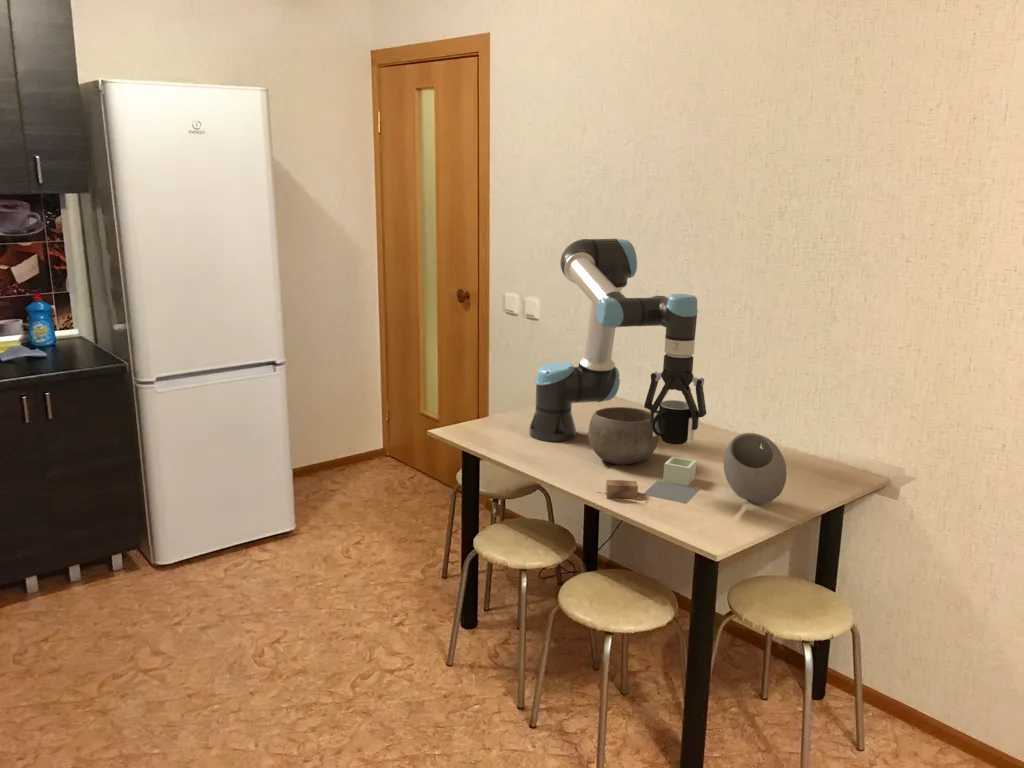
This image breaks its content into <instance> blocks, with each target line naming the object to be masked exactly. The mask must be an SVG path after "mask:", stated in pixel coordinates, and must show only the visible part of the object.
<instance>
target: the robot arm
mask: <svg viewBox="0 0 1024 768" xmlns="http://www.w3.org/2000/svg"><path fill="white" fill-rule="evenodd" d="M637 257H638V256H637V253H636V250H635V246H634V245H633V243H631V242H630V240H628V239H620V238H619V239H618V238H592V239H591V238H583V239H577V240H576V241H572V242H571V243H570V244H569V245H568V246H566V248H565V249H564V250H563V253H562V254H561V257H560V264H559V265H560V269H561V272H562V273H563V275H564V277H565V278H566V279H567V280H568V281H569V282H571V283H573V284H576V286H577V287H579V289H581V291H582V292H583V293H584V295H585V296H586V297H587V298H588V299H589V300H590V301H591V304H590V312H589V319H588V326H587V335H586V341H585V351H584V355H583V356H582V357H580V358H579V361H578V366H574V365H573V363H571V362H567V361H556V362H550V363H546V364H543V365H541V366H539V368H538V369H537V372H536V379H535V384H536V385H535V387H536V388H535V411H534V414H533V417H532V419H531V422H530V425H529V435H530V437H532V438H533V439H536V440H540V441H544V442H545V441H546V442H565V441H570V440H572V439H574V438H575V437H576V435H577V434H576V433H577V431H576V430H577V428H576V425H575V422H574V418H573V414H572V406H573V405H572V404H578V403H579V404H580V403H596V402H597V403H602V402H607V401H611V400H612V399H614V398H616V395H617V394H618V391H619V388H620V385H621V384H620V383H621V379H620V372H619V369H618V368H617V367H616V363H615V361H613V359H612V356H613V348H614V342H615V341H614V340H615V335H616V334H615V333H616V328H624V327H625V328H626V327H627V328H628V327H629V328H630V327H663V328H665V337H664V353H665V354H664V355H663V365H662V366H663V367H662V368H663V370H662V372H658V371H654V372H652V373H651V374H650V384H649V389H648V391H647V395H646V399H645V401H644V407H643V408H645V410H646V409H647V410H648V411H650V412H651V417H650V422H651V423H652V422H653V419H654V417H655V416H656V415H657V414H658V413H659V405H660V403H661V402H662V401H664V399H665V398H666V396H667V394H668V392H669V391H670V390H671V391H674V390H675V391H678V392H681V393H682V395H683V397H684V399H685V400H684V401H685V402H687V405H688V407H689V410H690V412H691V415H692V417H690V418H689V427H688V440H687V441H686V443H689V444H690V443H692V442H693V441H694V434H695V431H697V429H698V427H699V419H700V418H703V417H705V416H706V415H707V406H706V399H705V393H704V383H705V379H704V377H700V378H699V377H694V374H693V370H694V369H693V368H694V356H693V355H694V354H695V343H696V341H695V340H696V331H697V322H698V321H697V320H698V319H697V318H698V312H699V310H698V298H697V297H696V296H695V295H693V294H687V293H685V294H684V293H674V294H673V293H672V294H670V295H669V296H668V297H667V296H666V295H657V294H655V295H652V296H650V297H626V296H625V295H624V294H622V290H623V289H624V288H626V287H627V285H628V280H629V279H631V278H633V277H634V276H635V275H636V273H637V271H638V258H637ZM661 379H662V380H663V383H664V384H663V387H662V388H661V391H660V392H659V394H658V395H657V397H656V399H655V401H654V398H655V395H656V392H657V388H658V383H659V381H660V380H661ZM691 383H693V385H694V387H695V394H696V402H697V405H696V402H695V399H694V396H693V393H692V390H691V389H692V388H691V387H690V384H691ZM653 401H654V402H653ZM655 428H656V431H657V432H658V433H659V418H658V419H657V421H656V425H655ZM653 436H657V435H656V434H655V433H654V432H653Z"/></svg>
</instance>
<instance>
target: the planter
mask: <svg viewBox="0 0 1024 768" xmlns="http://www.w3.org/2000/svg"><path fill="white" fill-rule="evenodd" d="M723 470H724V476H725V478H726V482H727V484H728V485H729V486H730V488H731V490H732V491H733V492H734V493H735V494H736V495H737V496H739V497H740V498H742V499H744V500H746V501H747V502H749V503H753V504H766V503H770V502H772V501H773V500H775V499H777V498H778V497H779V496H780V495H781V494H782V492H783V491H784V489H785V486H786V481H787V473H788V472H787V464H786V461H785V459H784V456H783V454H782V451H781V450H780V448H779V447H778V445H776V444H775V443H774V441H772V440H771V439H770V438H768V437H766V436H764V435H762V434H758V433H754V432H744V433H741V434H738V435H736V436H735V437H734V438H733V439H732V440H731V441H730V442H729V443H728V445H727V447H726V449H725V452H724V456H723Z"/></svg>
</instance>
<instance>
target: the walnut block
mask: <svg viewBox="0 0 1024 768" xmlns="http://www.w3.org/2000/svg"><path fill="white" fill-rule="evenodd" d="M605 482H606V483H605V497H606V500H631V501H633V500H634V501H637V500H638V499H637V497H638V494H639V493H638V490H639V485H638V482H637V480H623V479H622V480H621V479H619V480H618V479H617V480H616V479H606V480H605Z"/></svg>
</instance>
